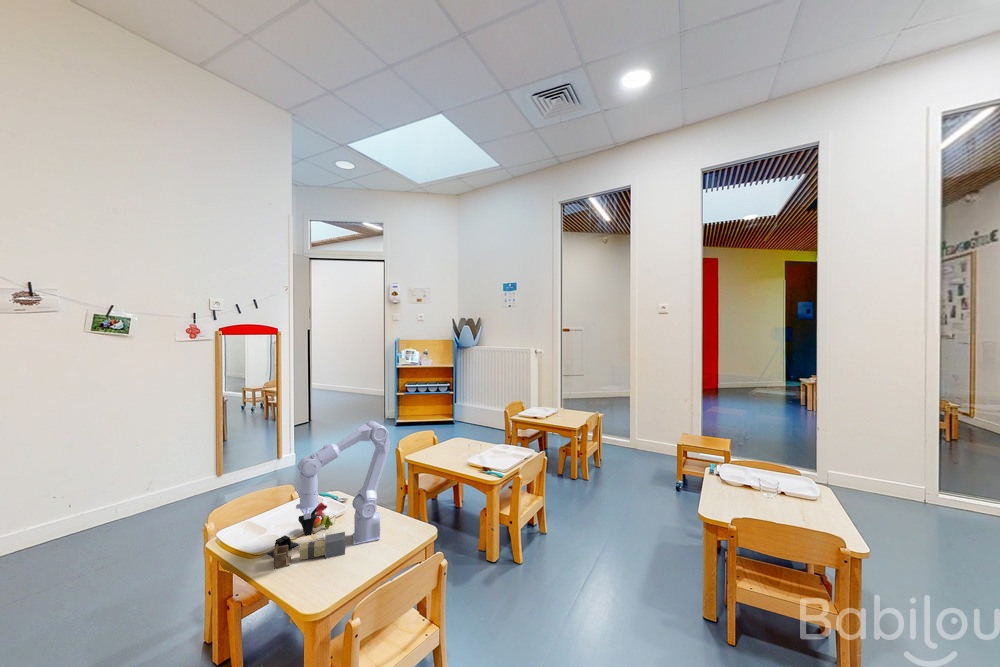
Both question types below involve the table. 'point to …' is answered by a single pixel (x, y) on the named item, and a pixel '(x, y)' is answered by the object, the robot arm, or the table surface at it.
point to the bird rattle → (321, 522)
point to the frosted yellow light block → (312, 549)
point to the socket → (281, 557)
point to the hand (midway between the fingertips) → (309, 529)
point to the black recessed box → (284, 541)
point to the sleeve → (335, 545)
